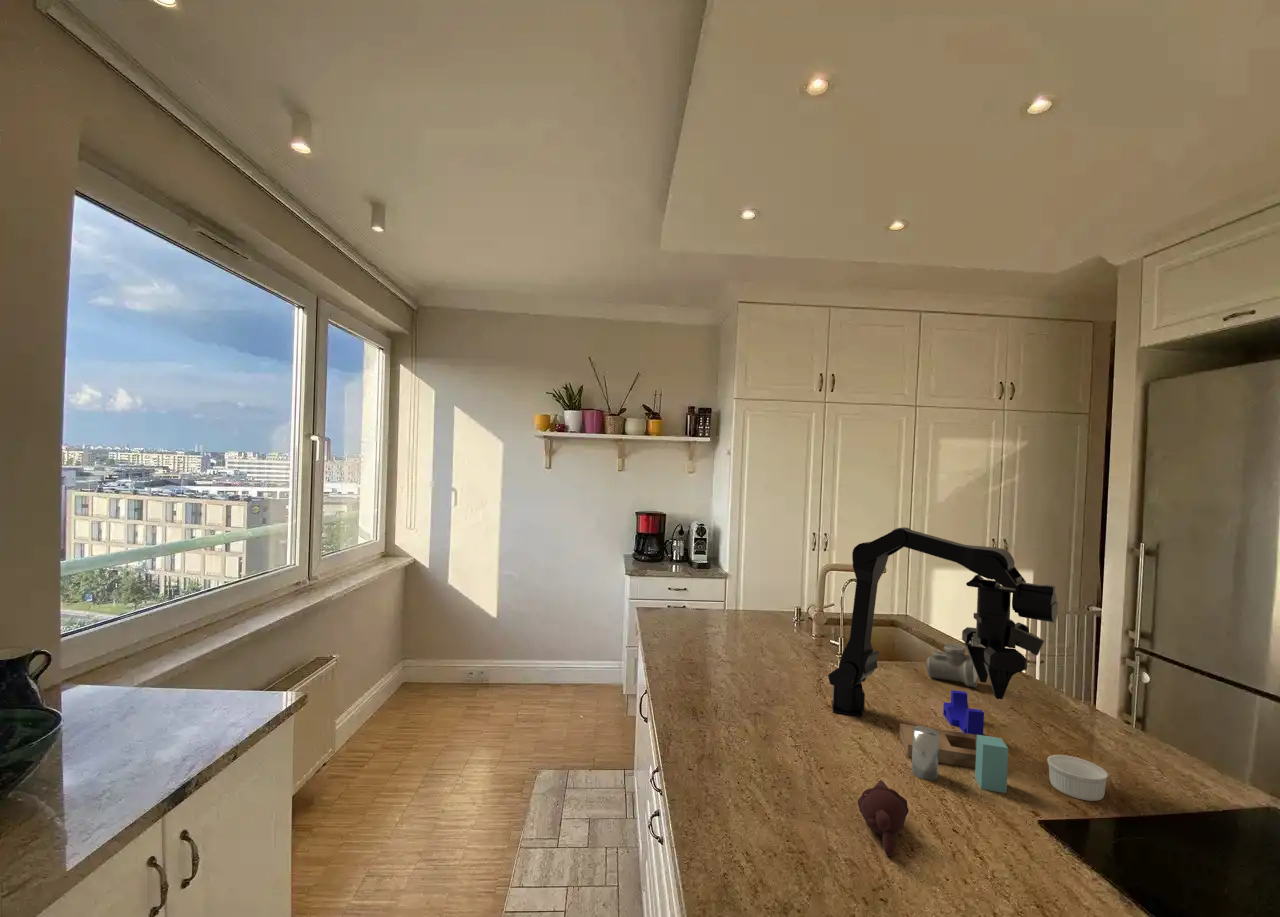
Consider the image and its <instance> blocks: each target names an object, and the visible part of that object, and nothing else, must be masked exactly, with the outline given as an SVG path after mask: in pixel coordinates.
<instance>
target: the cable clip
mask: <svg viewBox="0 0 1280 917" xmlns="http://www.w3.org/2000/svg"><path fill="white" fill-rule="evenodd" d="M968 703H969V702H968V693H967V692H966V691H961V690H955V689H954V690H953V689H951V690H950V702H945V701H944V702H943V709H942V715H943V717H945V719H946V720H947V721H948V723H949V724H950V726H954V727H958V728H959V729H960V731H962V732H961V733H968V734H975V735H983V736H984V723H985V722H984V721H985V712H984V711H983V710H982V709H976V708H971V707H970V708H969V704H968Z"/></svg>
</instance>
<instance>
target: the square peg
mask: <svg viewBox="0 0 1280 917" xmlns="http://www.w3.org/2000/svg"><path fill="white" fill-rule="evenodd" d="M1008 763H1009V747H1008V746H1007V744H1006V743H1005V742H1004V740H1003V739H1002V738H1001V737H995V736H989V735H984V734H983V735H977V742H976V767H975V768H974V769H975V771H974V779H975V780H976V782H977V784H978V786H979V787H980V789H981V790H985V791H990V792H991V791H993V792H998V793H1004V794H1007V788H1008V787H1007V786H1008V765H1009V764H1008Z"/></svg>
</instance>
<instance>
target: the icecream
mask: <svg viewBox="0 0 1280 917" xmlns="http://www.w3.org/2000/svg"><path fill="white" fill-rule="evenodd" d="M857 805H858V808H859V809H858V810H859V813H860V814H861V815H862V817H863V819H864V821H865V823H866V826H867V827H868V828H869V829H870V830H871V831H873V832H875V833H877V834H878V835H880V836H882V846H883V852H884V853H885V855H886V856H887V857H891V856H893V855H894V854H895V850H896V843H895V842H896V841H895V837H894V836H895V835H896V834H898V833H899V832H900V831H902V830H903V829H904V828H905V821H906V819H907V816H908V814H909V812H910V811H909V808H908V801H907V799H906V798H905V797H903V796H901V795H900V793H898V792H897V791H896V790H894V789H893V788H889V787H888V786H887V784H886V783H885V782H884V781H883V780H882V779H879V781H878V782H877V783H876V784H875V786H874V787H872V788H866V789H864V791H863V792H862V794H861V795H860V797H859V798H858V799H857Z"/></svg>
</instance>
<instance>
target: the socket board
mask: <svg viewBox="0 0 1280 917" xmlns="http://www.w3.org/2000/svg"><path fill="white" fill-rule="evenodd" d="M915 726H916V725H913V724H905V723H899V734H898V735H900V736H899V738H900V741H901V743H902V746H903V749H904V751H905V755H906V756H907V758H911V759H912V746H913V728H914V727H915ZM931 728H932V729H934V730H936V731H938V732H939V755H938V763H941V764H949V765H953V766H959V767H968V768H972V769H975V767H976V742H977V735H975V734H968V733H963V732H961V731H953V730H949V729H948V730H947V729H940V728H939V729H938V728H933V727H931Z"/></svg>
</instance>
